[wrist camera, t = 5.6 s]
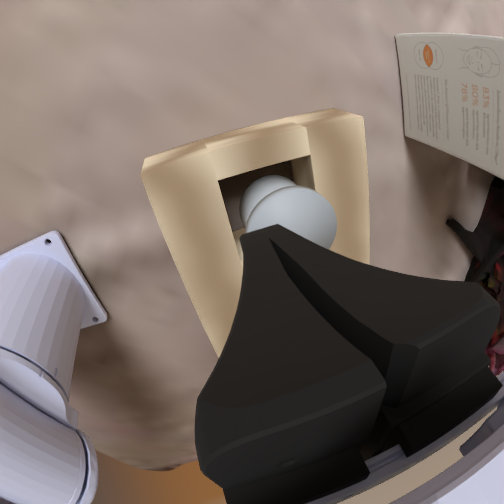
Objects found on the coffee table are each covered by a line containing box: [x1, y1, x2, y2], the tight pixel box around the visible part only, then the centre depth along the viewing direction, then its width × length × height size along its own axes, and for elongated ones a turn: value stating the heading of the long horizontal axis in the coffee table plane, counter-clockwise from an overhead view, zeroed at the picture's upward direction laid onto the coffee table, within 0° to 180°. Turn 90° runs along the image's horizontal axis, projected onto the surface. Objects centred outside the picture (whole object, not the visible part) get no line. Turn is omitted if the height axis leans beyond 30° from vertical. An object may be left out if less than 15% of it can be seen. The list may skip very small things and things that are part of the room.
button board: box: [140, 109, 370, 358], centre depth 23 cm, size 12×24×4 cm, turn 13°
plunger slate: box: [239, 175, 337, 249], centre depth 16 cm, size 4×4×4 cm
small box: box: [395, 33, 504, 180], centre depth 13 cm, size 8×6×13 cm
